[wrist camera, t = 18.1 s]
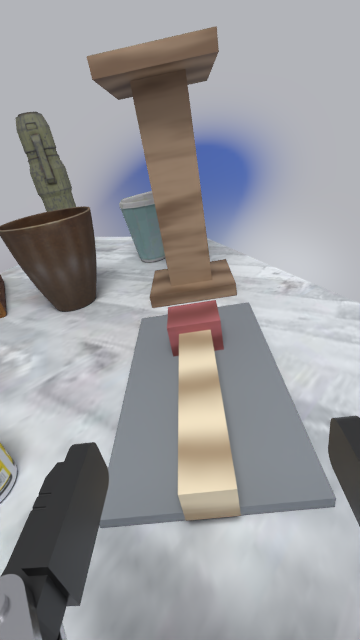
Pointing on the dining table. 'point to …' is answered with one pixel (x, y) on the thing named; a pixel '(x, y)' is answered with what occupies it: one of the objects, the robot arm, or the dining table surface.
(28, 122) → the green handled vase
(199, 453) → the bar
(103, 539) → the dining table surface
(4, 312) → the diary
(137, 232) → the disposable coffee cup
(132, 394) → the mat
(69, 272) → the plant pot
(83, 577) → the robot arm
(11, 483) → the supplement bottle
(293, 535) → the dining table surface
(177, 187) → the brown tall pedestal shape
